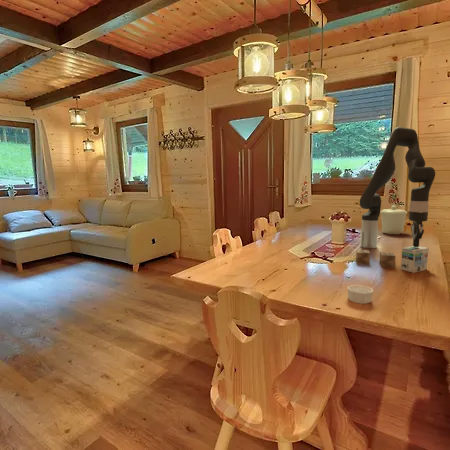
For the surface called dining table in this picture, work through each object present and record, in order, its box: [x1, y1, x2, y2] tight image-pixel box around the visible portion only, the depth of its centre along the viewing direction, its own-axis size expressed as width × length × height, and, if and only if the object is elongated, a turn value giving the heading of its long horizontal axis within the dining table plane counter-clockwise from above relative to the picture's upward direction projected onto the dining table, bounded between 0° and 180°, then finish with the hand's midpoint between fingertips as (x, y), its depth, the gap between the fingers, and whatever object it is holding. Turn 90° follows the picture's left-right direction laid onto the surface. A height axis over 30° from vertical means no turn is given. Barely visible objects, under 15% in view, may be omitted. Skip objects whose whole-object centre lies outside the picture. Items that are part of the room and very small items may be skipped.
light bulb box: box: [400, 245, 429, 274], centre depth 149 cm, size 11×7×11 cm, turn 117°
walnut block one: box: [379, 252, 396, 269], centre depth 157 cm, size 6×6×6 cm
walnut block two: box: [355, 249, 371, 265], centre depth 163 cm, size 6×6×6 cm
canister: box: [380, 205, 409, 235], centre depth 234 cm, size 18×18×21 cm
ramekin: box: [347, 284, 374, 305], centre depth 116 cm, size 9×9×4 cm
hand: (415, 246), depth 148 cm, fingers closed
